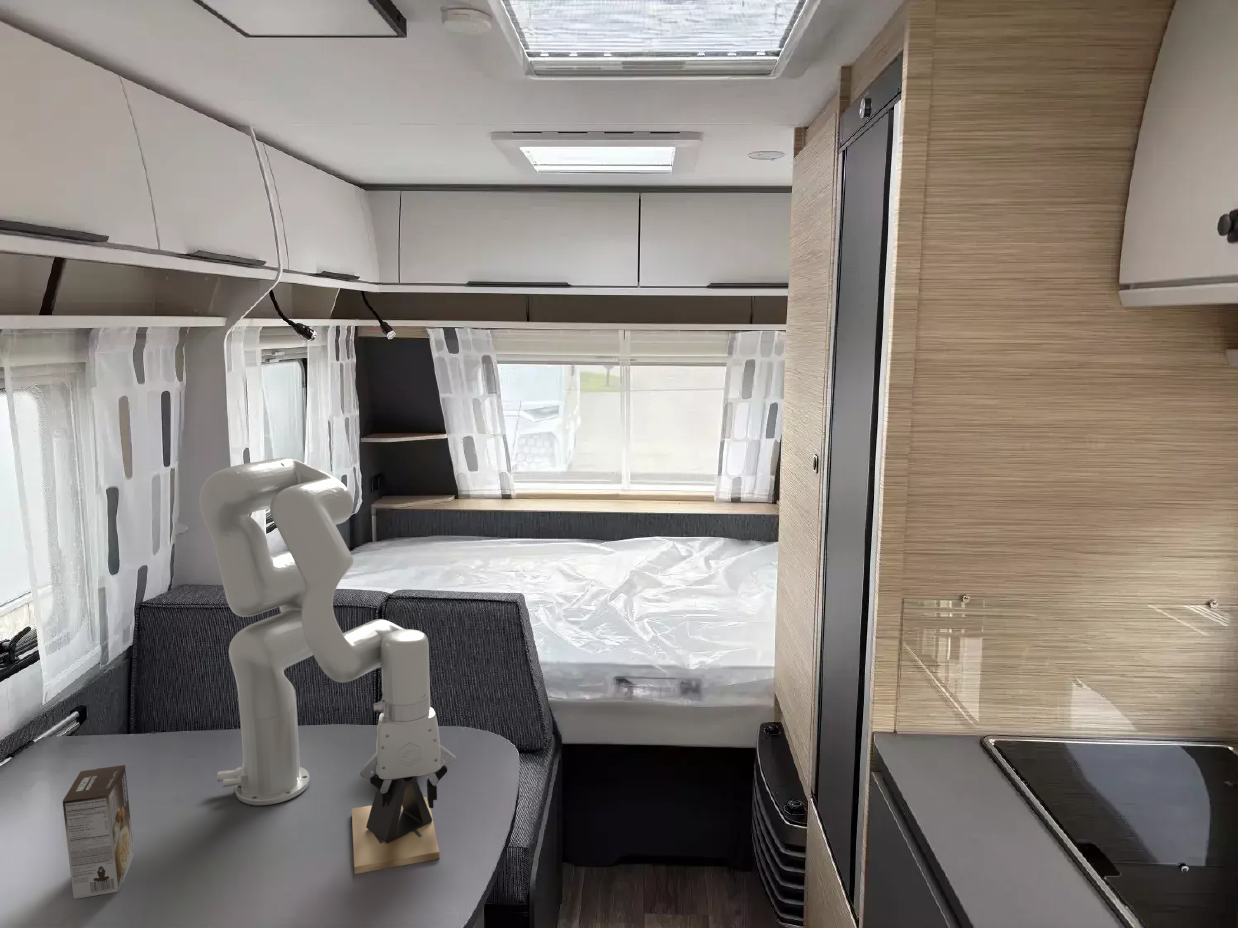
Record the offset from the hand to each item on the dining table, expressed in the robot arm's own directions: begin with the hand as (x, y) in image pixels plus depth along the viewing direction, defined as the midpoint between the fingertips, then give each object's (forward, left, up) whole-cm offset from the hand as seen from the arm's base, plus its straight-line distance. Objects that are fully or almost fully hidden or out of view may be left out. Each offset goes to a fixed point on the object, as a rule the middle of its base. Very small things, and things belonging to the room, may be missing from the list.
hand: (409, 806), depth 145 cm
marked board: (-3, 0, -5) cm, 5 cm away
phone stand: (-2, +1, -4) cm, 4 cm away
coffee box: (-46, +2, -5) cm, 46 cm away
